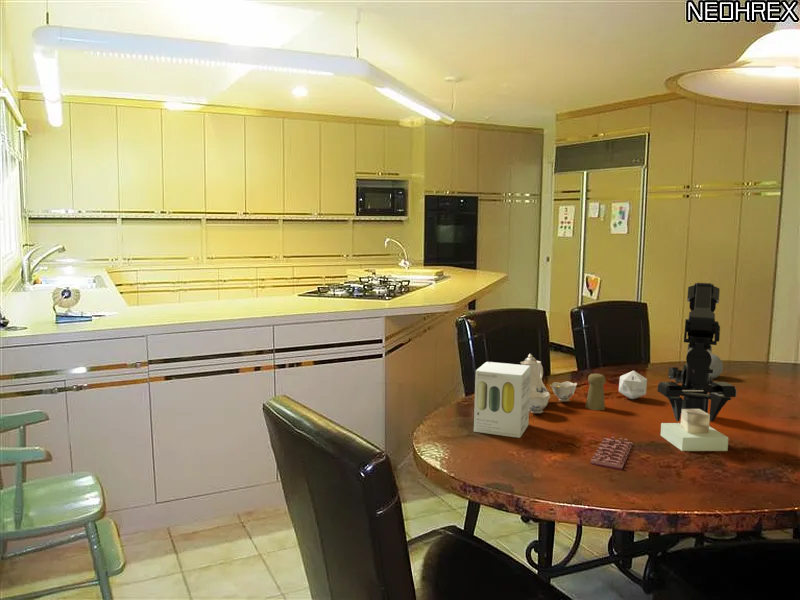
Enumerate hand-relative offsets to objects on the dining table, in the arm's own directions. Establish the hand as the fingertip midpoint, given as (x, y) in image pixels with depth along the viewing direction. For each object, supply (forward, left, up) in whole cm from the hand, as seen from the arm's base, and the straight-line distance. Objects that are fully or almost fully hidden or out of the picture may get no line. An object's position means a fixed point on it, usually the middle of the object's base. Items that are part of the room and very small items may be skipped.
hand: (694, 420), depth 166 cm
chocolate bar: (+25, +8, -7) cm, 27 cm away
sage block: (0, 0, -6) cm, 6 cm away
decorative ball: (-43, -72, -6) cm, 84 cm away
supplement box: (+49, -12, -6) cm, 51 cm away
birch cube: (0, 0, -2) cm, 3 cm away
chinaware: (+32, -34, -6) cm, 47 cm away
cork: (+15, -32, -6) cm, 36 cm away
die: (-1, -42, -6) cm, 42 cm away
